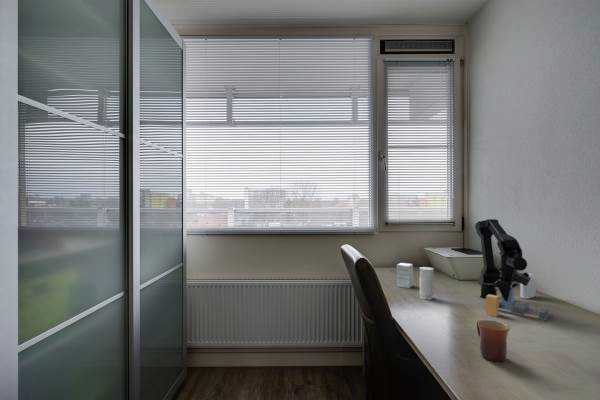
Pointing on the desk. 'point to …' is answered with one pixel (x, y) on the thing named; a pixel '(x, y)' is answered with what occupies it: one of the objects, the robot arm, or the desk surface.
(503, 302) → the blue plug
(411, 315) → the desk surface
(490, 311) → the tan rectangular box
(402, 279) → the supplement box
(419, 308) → the desk surface
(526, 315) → the grey slotted base
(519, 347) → the desk surface
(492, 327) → the mug
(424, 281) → the candle
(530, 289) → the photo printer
